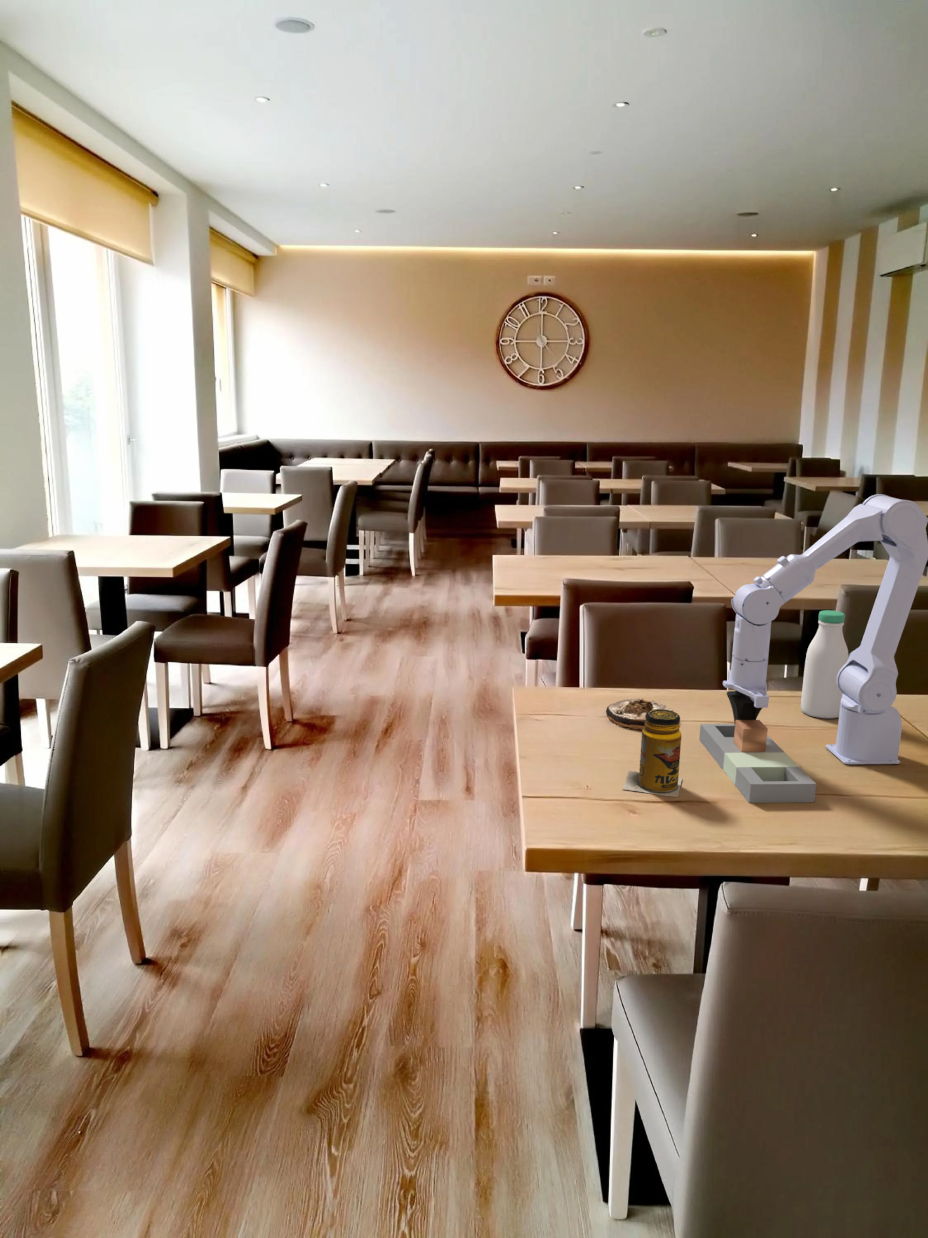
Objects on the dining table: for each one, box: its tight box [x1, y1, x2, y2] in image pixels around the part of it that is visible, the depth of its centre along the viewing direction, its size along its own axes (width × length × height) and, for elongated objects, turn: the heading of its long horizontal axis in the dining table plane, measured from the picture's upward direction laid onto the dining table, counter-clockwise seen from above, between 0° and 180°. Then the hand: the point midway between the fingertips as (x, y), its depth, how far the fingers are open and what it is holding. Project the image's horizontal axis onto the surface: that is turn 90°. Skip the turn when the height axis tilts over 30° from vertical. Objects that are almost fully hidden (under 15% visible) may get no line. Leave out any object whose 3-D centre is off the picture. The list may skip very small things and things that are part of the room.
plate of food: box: [605, 698, 675, 731], centre depth 176 cm, size 15×15×4 cm
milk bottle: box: [800, 609, 849, 720], centre depth 179 cm, size 8×8×20 cm
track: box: [699, 723, 817, 804], centre depth 154 cm, size 10×26×3 cm, turn 3°
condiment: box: [622, 708, 683, 798], centre depth 146 cm, size 7×8×12 cm
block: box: [734, 719, 769, 752], centre depth 155 cm, size 4×4×4 cm
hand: (743, 734), depth 158 cm, fingers closed
